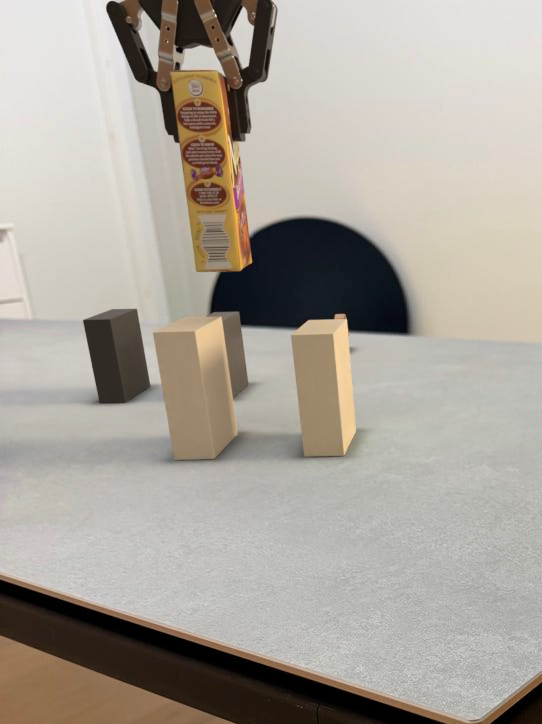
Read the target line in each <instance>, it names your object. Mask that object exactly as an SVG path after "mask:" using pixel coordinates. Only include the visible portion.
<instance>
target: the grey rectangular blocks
mask: <svg viewBox="0 0 542 724" xmlns="http://www.w3.org/2000/svg"><path fill="white" fill-rule="evenodd" d="M219 316H221V317H222V323H223V331H224V338H225V345H226V352H227V360H228V367H229V374H230V381H231V389H232V396H233V399H234V398H235V397H236V396H237V395H238V394H239V393H240V392H242V391H243V390H244V389H245V388H246V387H247V386H248V385H249V377H248V370H247V362H246V354H245V347H244V339H243V331H242V323H241V315H240V311H214V312H211V313H210V314H208V315H206V316H205V317H219ZM82 323H83V328H84V333H85V338H86V343H87V348H88V353H89V359H90V363H91V368H92V373H93V377H94V383H95V387H96V394H97V398H98V402H99V404H113V403H119V404H120V403H127V402H128V401H131V399H133V398H134V397H136V396H138V395H140V394H141V393H142V392H144V391H146V390H147V389H148V388H150V387H151V381H150V380H151V379H150V374H149V370H148V363H147V358H146V351H145V347H144V341H143V334H142V330H141V323H140V317H139V311H138V308H111V309H109V310H106V311H103V312H101V313H98V314H96V315H95V314H94V315H92V316H90V317H87V318H84V319H83V320H82Z"/></svg>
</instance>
